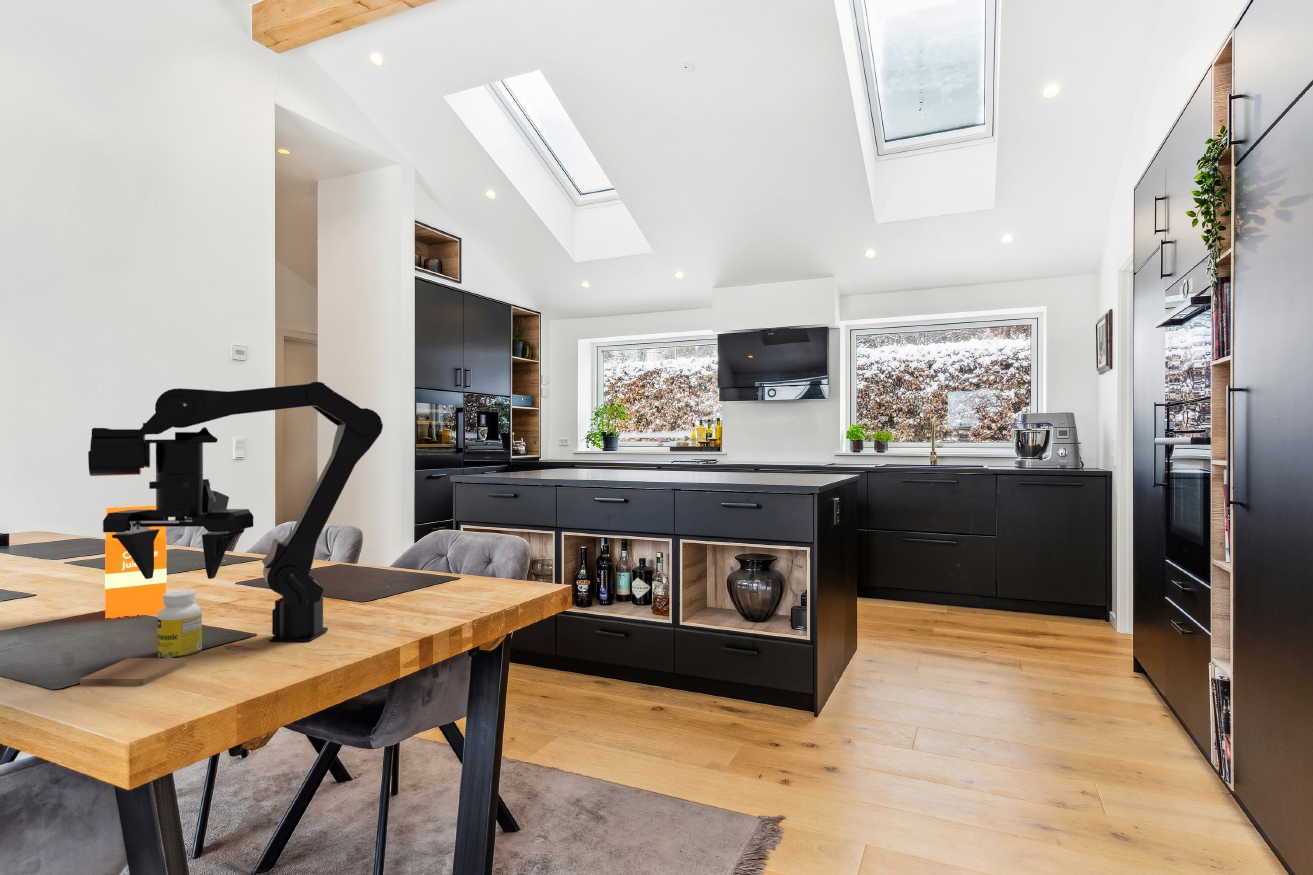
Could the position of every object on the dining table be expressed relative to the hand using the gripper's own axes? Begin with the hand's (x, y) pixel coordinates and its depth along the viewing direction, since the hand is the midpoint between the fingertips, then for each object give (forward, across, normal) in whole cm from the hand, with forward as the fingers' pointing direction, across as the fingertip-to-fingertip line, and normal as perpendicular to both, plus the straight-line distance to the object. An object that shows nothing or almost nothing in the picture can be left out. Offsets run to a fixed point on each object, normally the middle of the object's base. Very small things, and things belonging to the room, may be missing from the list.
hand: (180, 578), depth 99 cm
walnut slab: (+12, -1, +10) cm, 16 cm away
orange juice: (+12, +25, -25) cm, 37 cm away
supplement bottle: (+12, 0, 0) cm, 12 cm away
